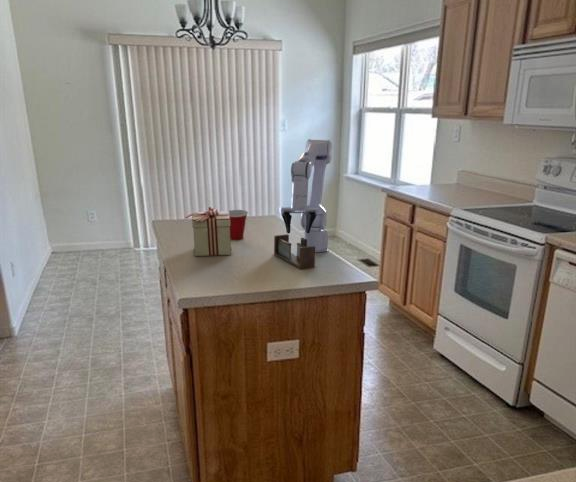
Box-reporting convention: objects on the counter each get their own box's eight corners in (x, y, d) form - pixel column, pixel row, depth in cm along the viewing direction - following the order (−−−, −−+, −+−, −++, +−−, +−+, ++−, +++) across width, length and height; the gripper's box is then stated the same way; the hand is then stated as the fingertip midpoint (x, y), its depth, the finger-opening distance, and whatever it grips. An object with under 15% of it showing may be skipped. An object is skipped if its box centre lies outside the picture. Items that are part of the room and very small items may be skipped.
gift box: (185, 247, 223) (183, 206, 217) (229, 245, 227) (228, 205, 221) (187, 258, 208) (185, 214, 201) (234, 256, 212) (233, 213, 205)
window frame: (287, 253, 218) (287, 234, 215) (314, 267, 200) (315, 246, 197) (274, 255, 215) (274, 235, 212) (300, 269, 197) (301, 248, 194)
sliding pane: (298, 257, 208) (299, 235, 204) (310, 263, 200) (311, 241, 197) (296, 258, 207) (296, 236, 204) (308, 264, 200) (308, 241, 196)
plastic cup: (219, 239, 237) (219, 212, 232) (231, 234, 246) (230, 208, 242) (241, 242, 233) (241, 215, 229) (252, 237, 242) (252, 210, 238)
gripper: (284, 196, 189) (282, 234, 193) (322, 197, 193) (320, 234, 197) (278, 194, 195) (277, 231, 199) (315, 195, 200) (313, 231, 204)
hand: (297, 233), depth 199 cm, fingers open, 7 cm apart
